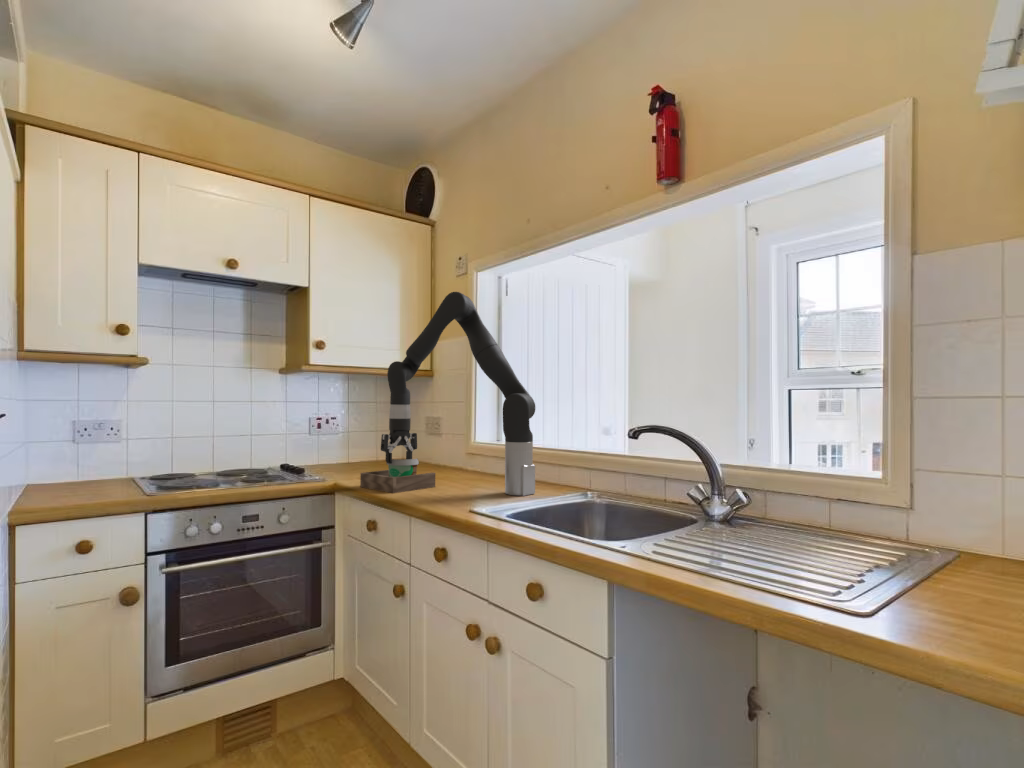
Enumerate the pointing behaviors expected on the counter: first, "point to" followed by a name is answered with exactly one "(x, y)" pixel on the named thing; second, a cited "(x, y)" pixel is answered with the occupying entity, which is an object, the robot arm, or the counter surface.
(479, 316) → the robot arm
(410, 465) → the food container
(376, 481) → the walnut box
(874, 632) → the counter surface
